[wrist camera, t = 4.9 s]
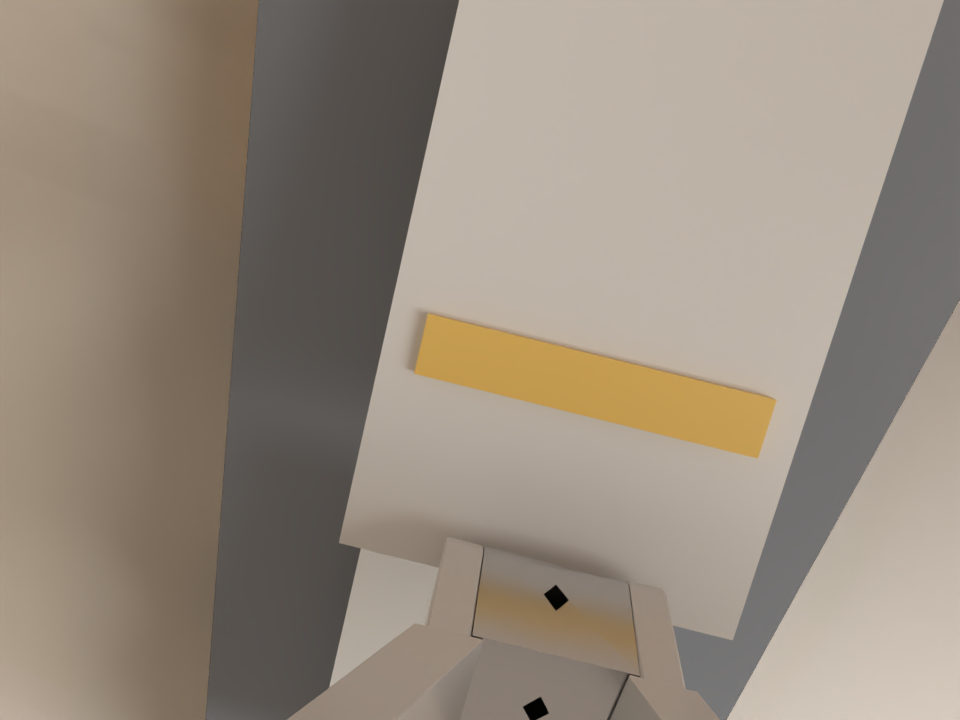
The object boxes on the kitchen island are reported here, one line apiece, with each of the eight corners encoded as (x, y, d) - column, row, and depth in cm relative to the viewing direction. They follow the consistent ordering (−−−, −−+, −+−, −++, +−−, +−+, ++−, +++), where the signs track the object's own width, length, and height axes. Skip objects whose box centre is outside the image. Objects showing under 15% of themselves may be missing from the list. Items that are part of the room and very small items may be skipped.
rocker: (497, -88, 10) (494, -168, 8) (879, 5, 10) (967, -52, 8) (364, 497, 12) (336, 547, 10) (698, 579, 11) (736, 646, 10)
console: (339, -180, 14) (211, -304, 9) (993, -19, 14) (1243, -50, 9) (232, 806, 28) (159, 979, 22) (561, 887, 28) (561, 1079, 22)
